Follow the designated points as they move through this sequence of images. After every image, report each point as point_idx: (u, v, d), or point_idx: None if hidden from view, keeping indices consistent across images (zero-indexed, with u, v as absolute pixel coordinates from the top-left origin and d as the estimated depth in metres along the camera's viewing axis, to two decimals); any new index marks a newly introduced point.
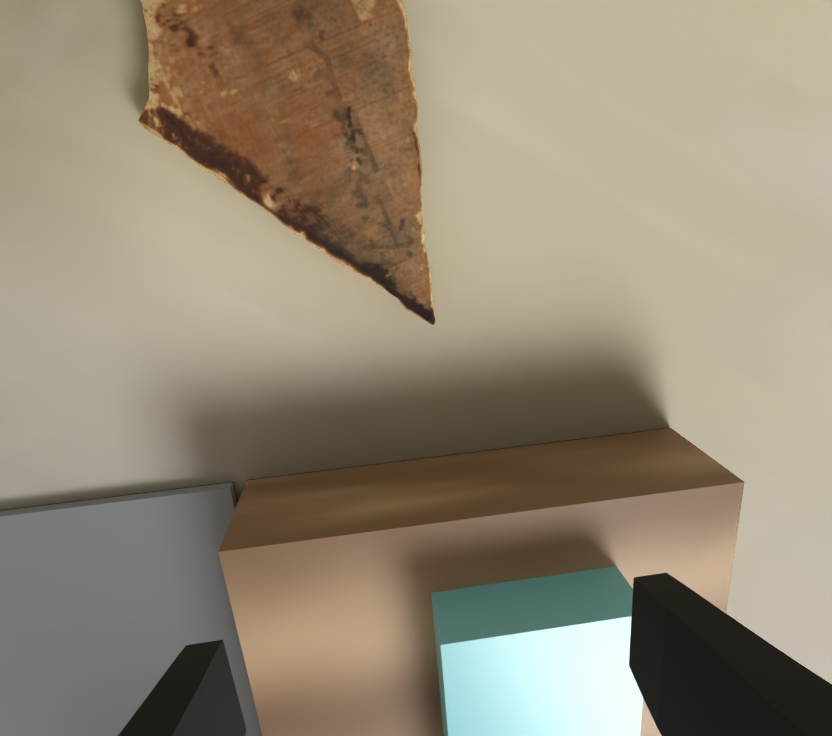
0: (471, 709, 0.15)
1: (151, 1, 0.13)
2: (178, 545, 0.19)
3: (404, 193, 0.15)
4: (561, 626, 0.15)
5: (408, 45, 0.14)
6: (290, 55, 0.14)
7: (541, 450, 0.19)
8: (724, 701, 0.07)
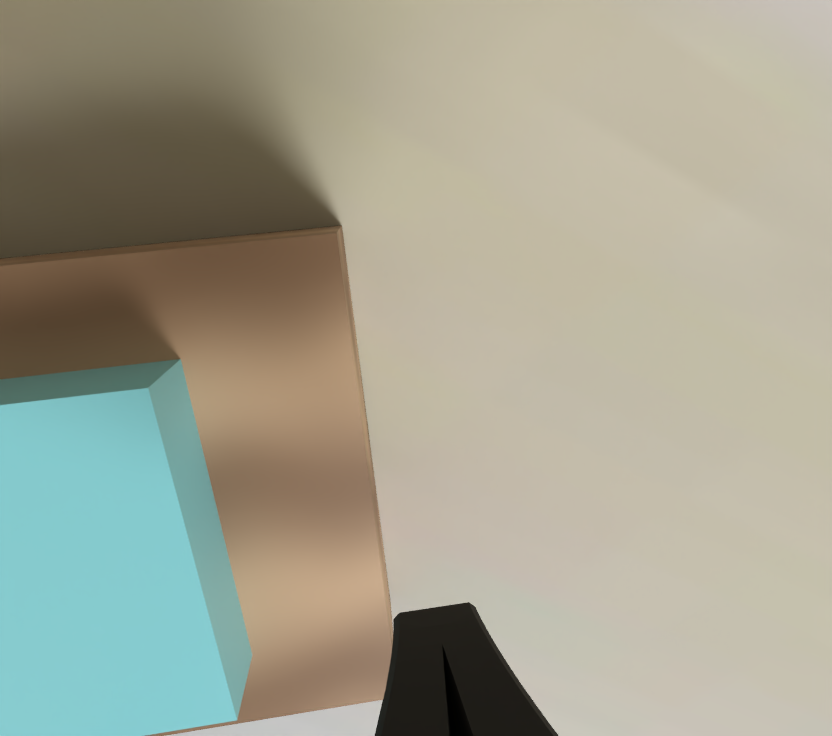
0: None
1: None
2: None
3: None
4: (12, 403, 0.10)
5: None
6: None
7: (155, 244, 0.15)
8: None
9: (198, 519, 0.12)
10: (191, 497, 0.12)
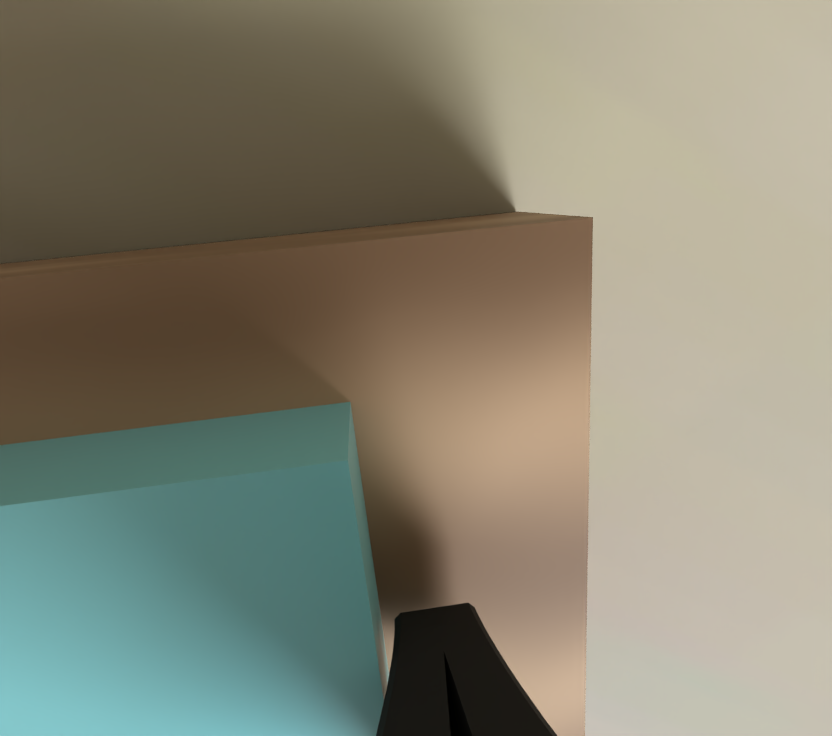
0: None
1: None
2: None
3: None
4: (137, 488, 0.06)
5: None
6: None
7: (279, 236, 0.11)
8: None
9: (378, 634, 0.08)
10: (373, 606, 0.08)
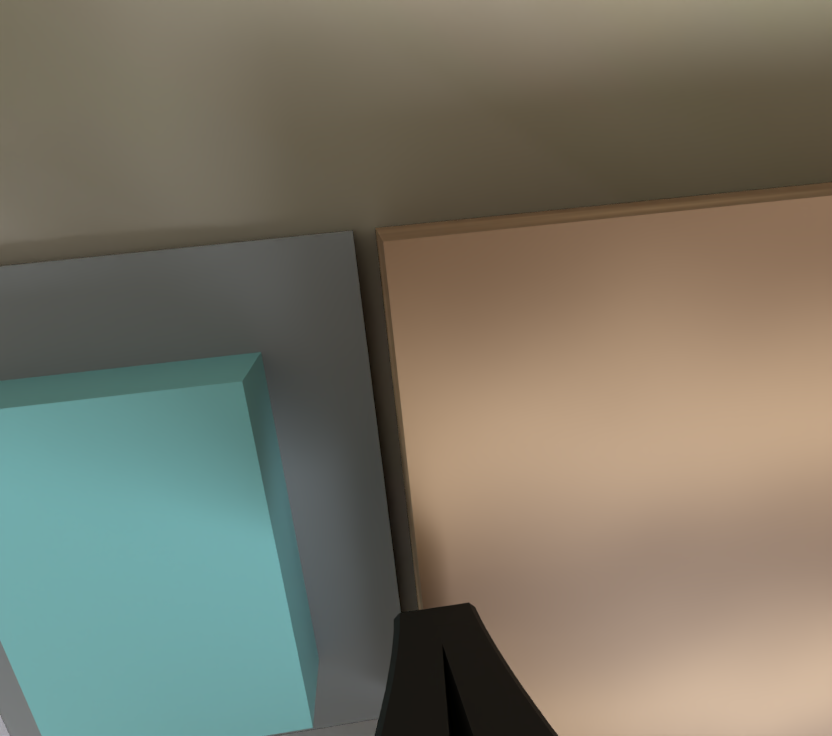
0: None
1: None
2: (265, 336, 0.12)
3: None
4: (103, 369, 0.11)
5: None
6: None
7: None
8: None
9: None
10: None
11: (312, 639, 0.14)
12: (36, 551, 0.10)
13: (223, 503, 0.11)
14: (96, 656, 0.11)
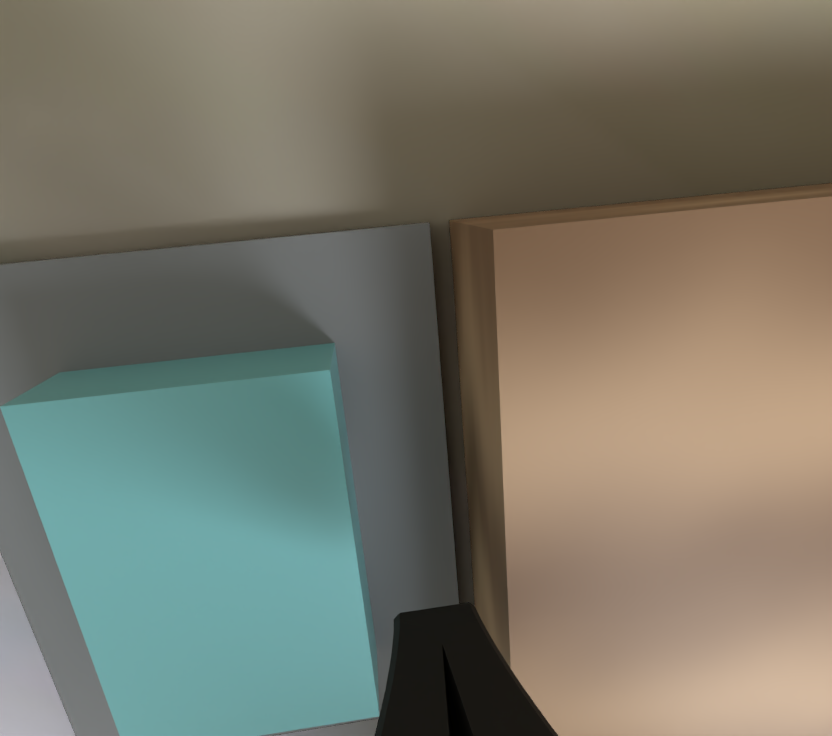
0: None
1: None
2: (339, 327, 0.12)
3: None
4: (180, 359, 0.12)
5: None
6: None
7: None
8: None
9: None
10: None
11: (373, 629, 0.14)
12: (120, 538, 0.11)
13: (304, 491, 0.11)
14: (172, 643, 0.11)
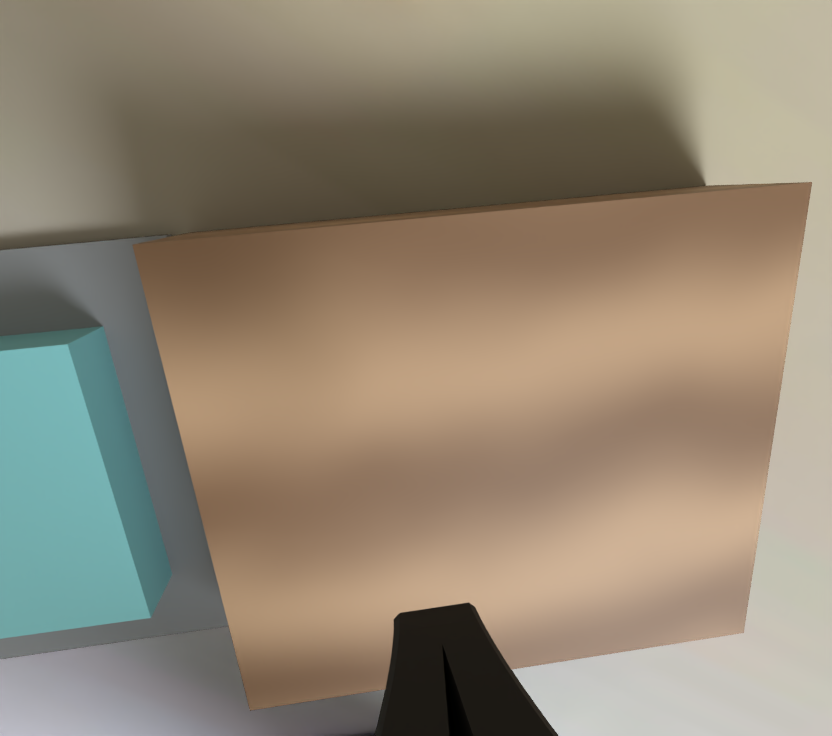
0: None
1: None
2: (105, 314, 0.15)
3: None
4: None
5: None
6: None
7: (551, 200, 0.16)
8: None
9: None
10: None
11: (162, 556, 0.18)
12: None
13: (62, 436, 0.14)
14: None
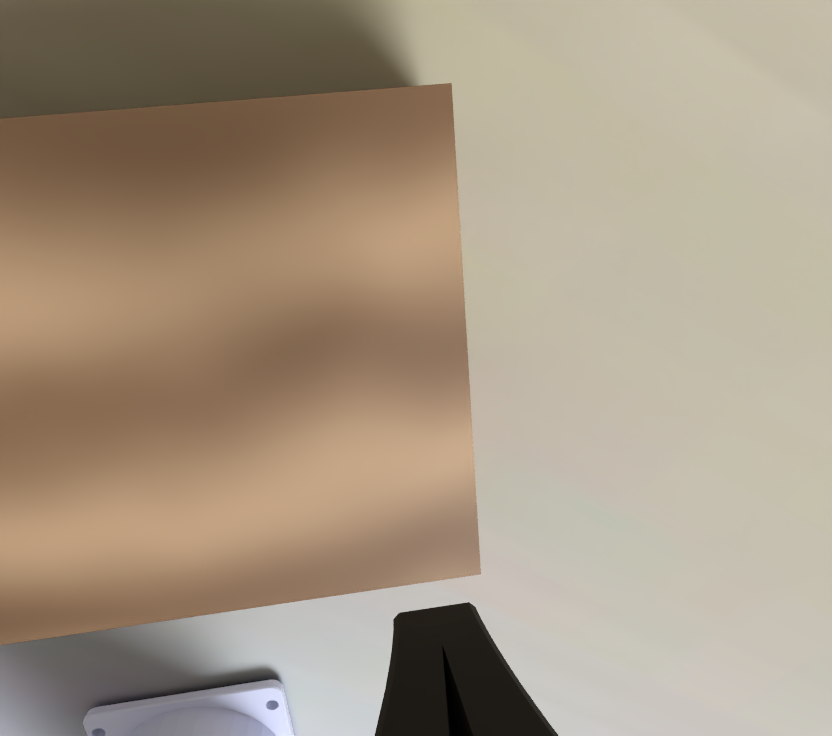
0: None
1: None
2: None
3: None
4: None
5: None
6: None
7: None
8: None
9: None
10: None
11: None
12: None
13: None
14: None
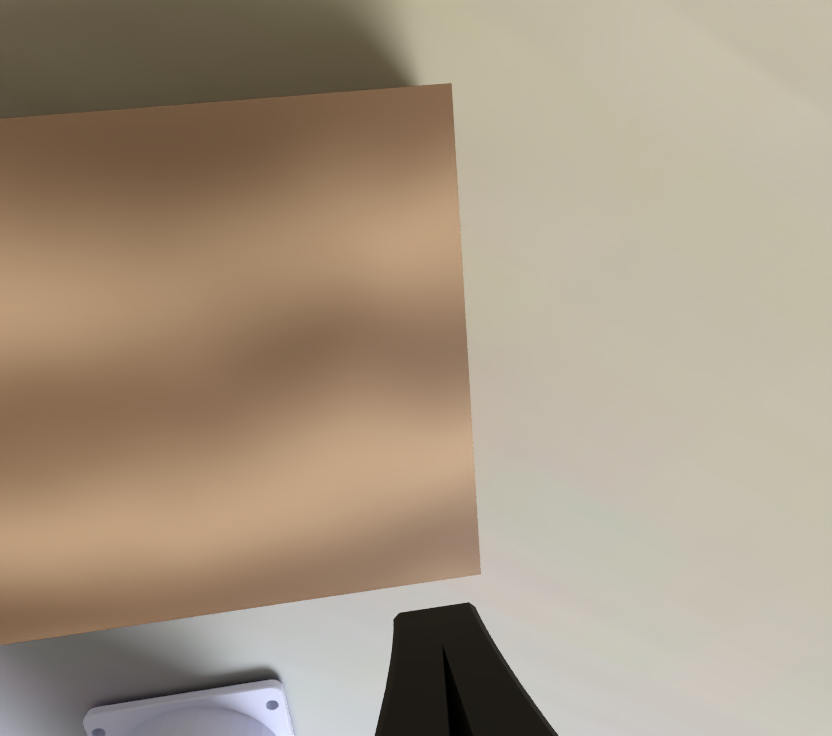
0: None
1: None
2: None
3: None
4: None
5: None
6: None
7: None
8: None
9: None
10: None
11: None
12: None
13: None
14: None
